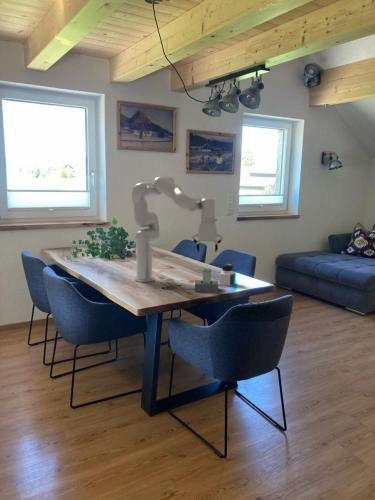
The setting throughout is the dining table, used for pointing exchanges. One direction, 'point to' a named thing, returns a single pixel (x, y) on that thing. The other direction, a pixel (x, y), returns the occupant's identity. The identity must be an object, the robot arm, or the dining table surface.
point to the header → (206, 286)
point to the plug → (206, 276)
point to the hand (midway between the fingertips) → (207, 251)
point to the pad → (188, 287)
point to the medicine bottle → (227, 275)
